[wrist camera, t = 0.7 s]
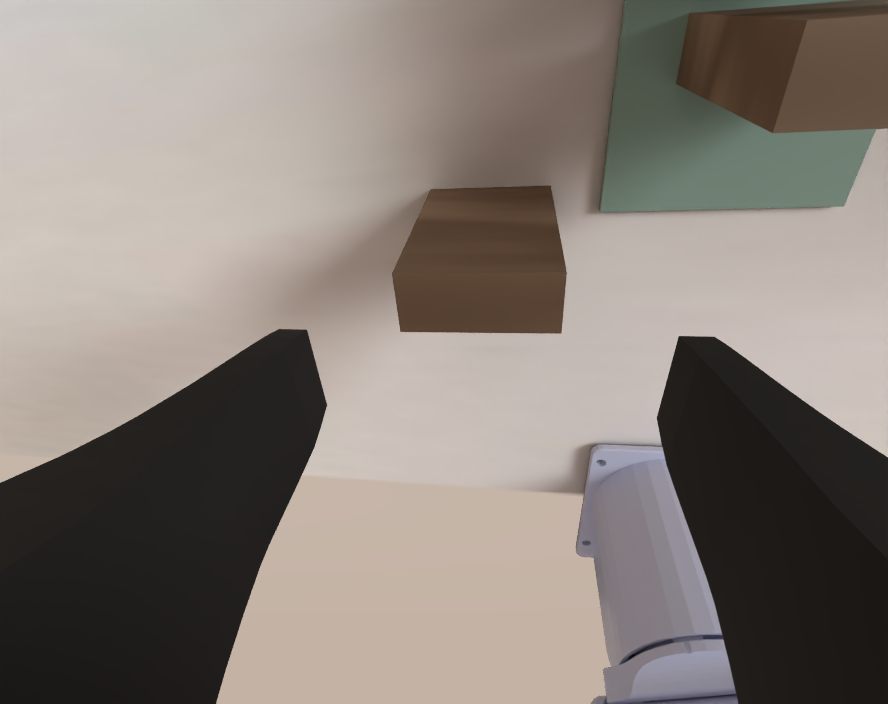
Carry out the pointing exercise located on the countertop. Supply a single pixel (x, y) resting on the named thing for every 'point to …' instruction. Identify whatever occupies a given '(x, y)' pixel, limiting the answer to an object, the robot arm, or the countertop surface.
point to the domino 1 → (483, 263)
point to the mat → (707, 132)
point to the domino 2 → (792, 64)
